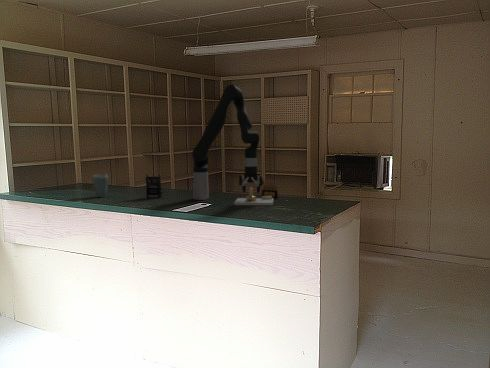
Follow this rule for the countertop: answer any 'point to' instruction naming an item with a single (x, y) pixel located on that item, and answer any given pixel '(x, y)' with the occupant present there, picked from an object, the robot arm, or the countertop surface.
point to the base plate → (255, 201)
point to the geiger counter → (153, 187)
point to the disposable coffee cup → (100, 184)
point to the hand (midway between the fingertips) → (251, 192)
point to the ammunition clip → (270, 189)
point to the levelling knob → (251, 195)
